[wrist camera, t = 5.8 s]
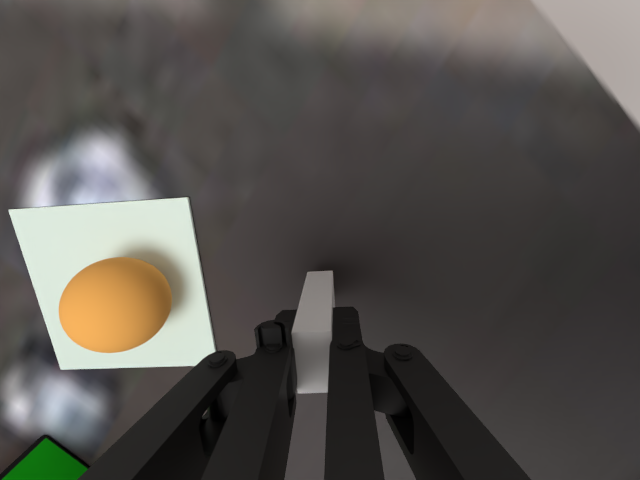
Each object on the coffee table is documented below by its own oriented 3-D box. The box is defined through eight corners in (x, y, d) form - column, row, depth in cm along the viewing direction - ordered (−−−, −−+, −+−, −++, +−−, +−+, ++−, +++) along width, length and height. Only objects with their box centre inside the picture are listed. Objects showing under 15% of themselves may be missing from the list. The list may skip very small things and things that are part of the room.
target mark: (189, 197, 19) (187, 197, 18) (218, 363, 22) (217, 364, 21) (11, 209, 19) (8, 209, 19) (63, 367, 22) (60, 369, 22)
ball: (138, 242, 21) (180, 251, 17) (155, 313, 22) (196, 334, 19) (32, 267, 16) (61, 285, 13) (61, 353, 18) (94, 389, 15)
